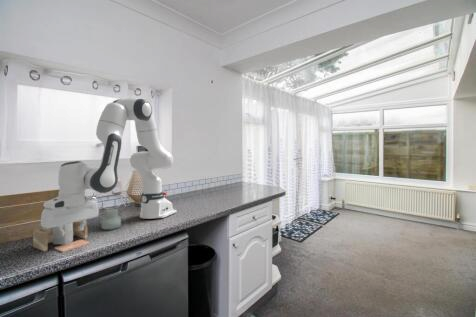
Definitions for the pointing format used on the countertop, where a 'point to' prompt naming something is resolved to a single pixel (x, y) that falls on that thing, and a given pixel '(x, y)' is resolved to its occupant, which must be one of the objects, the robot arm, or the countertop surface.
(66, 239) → the skincare box
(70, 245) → the tile
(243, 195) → the countertop surface
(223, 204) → the countertop surface
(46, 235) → the open wooden frame
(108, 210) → the air freshener
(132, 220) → the countertop surface
